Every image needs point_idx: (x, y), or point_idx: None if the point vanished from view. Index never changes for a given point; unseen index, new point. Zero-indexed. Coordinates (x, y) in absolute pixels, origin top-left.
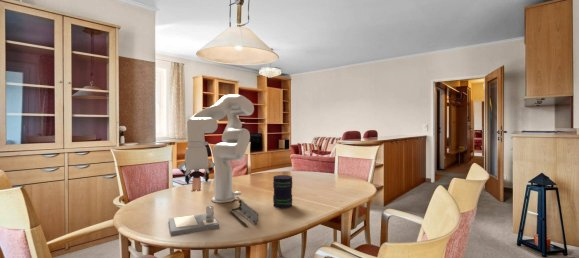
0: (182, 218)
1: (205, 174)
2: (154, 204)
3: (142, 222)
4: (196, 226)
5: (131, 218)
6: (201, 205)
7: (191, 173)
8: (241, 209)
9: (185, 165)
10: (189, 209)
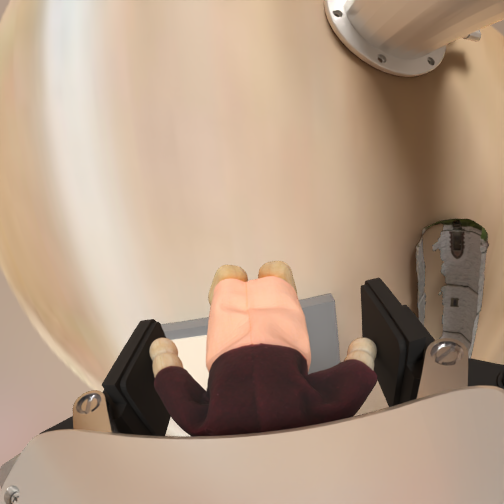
0: (204, 356)
1: (390, 371)
2: (41, 54)
3: (62, 300)
4: None
5: (15, 244)
6: (271, 80)
7: (177, 423)
8: (458, 253)
9: (15, 462)
10: (206, 147)
